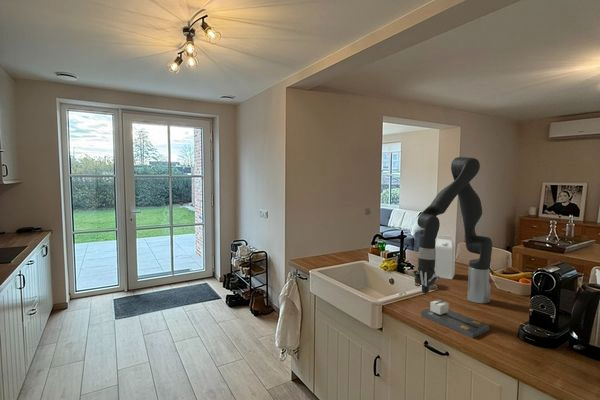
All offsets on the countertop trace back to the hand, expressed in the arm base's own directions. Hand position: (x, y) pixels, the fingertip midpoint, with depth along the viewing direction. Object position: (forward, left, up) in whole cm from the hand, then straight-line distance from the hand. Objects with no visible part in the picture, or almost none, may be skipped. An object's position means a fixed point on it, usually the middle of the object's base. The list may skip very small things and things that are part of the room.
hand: (425, 293), depth 151 cm
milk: (-34, -53, -9) cm, 64 cm away
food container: (-14, -34, -9) cm, 38 cm away
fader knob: (-4, +6, -6) cm, 10 cm away
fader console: (-7, +12, -9) cm, 17 cm away
